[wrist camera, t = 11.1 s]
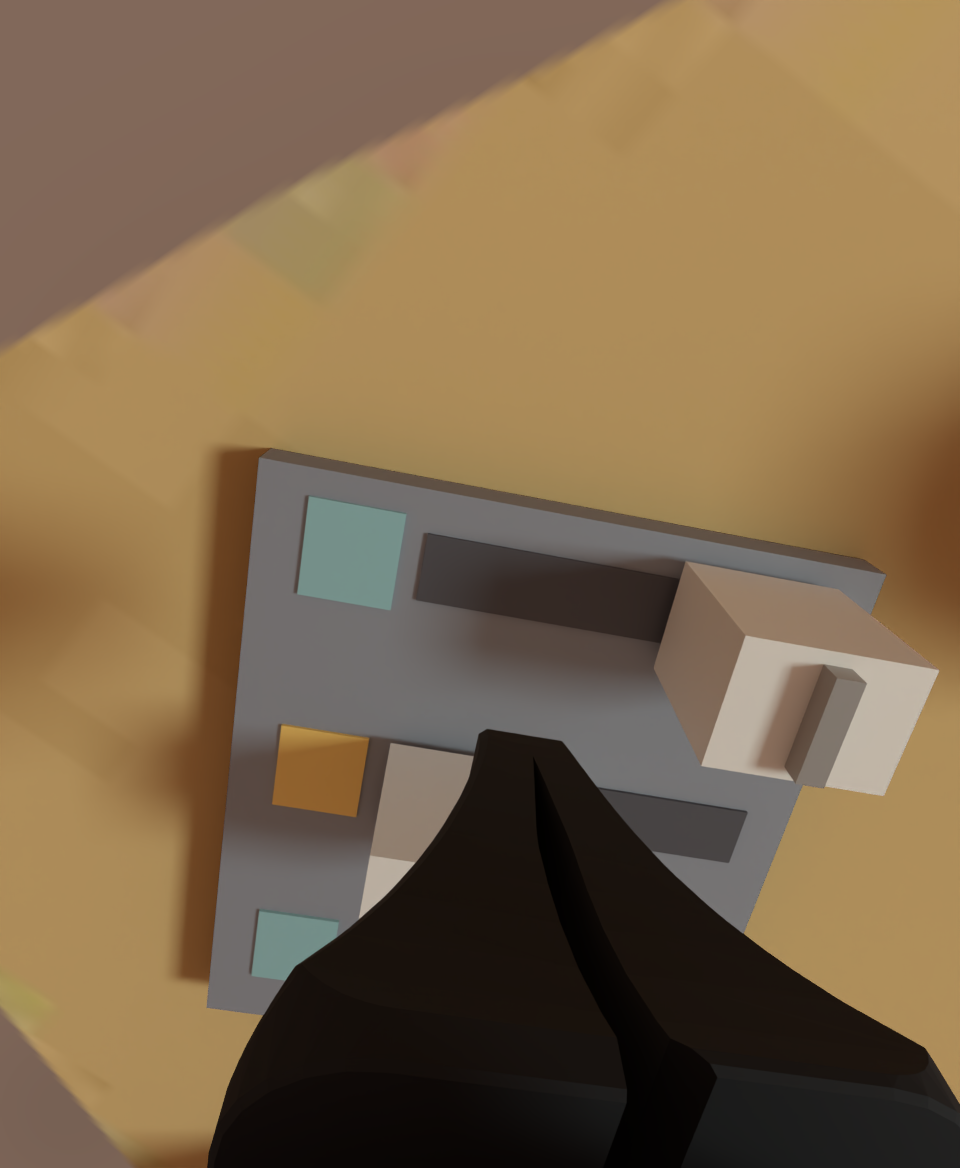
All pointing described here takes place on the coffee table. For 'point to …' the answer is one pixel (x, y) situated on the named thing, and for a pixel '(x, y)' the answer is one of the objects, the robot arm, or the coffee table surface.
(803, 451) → the coffee table surface
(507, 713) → the switch panel
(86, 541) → the coffee table surface
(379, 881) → the slider
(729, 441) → the coffee table surface
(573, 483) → the coffee table surface
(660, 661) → the slider
